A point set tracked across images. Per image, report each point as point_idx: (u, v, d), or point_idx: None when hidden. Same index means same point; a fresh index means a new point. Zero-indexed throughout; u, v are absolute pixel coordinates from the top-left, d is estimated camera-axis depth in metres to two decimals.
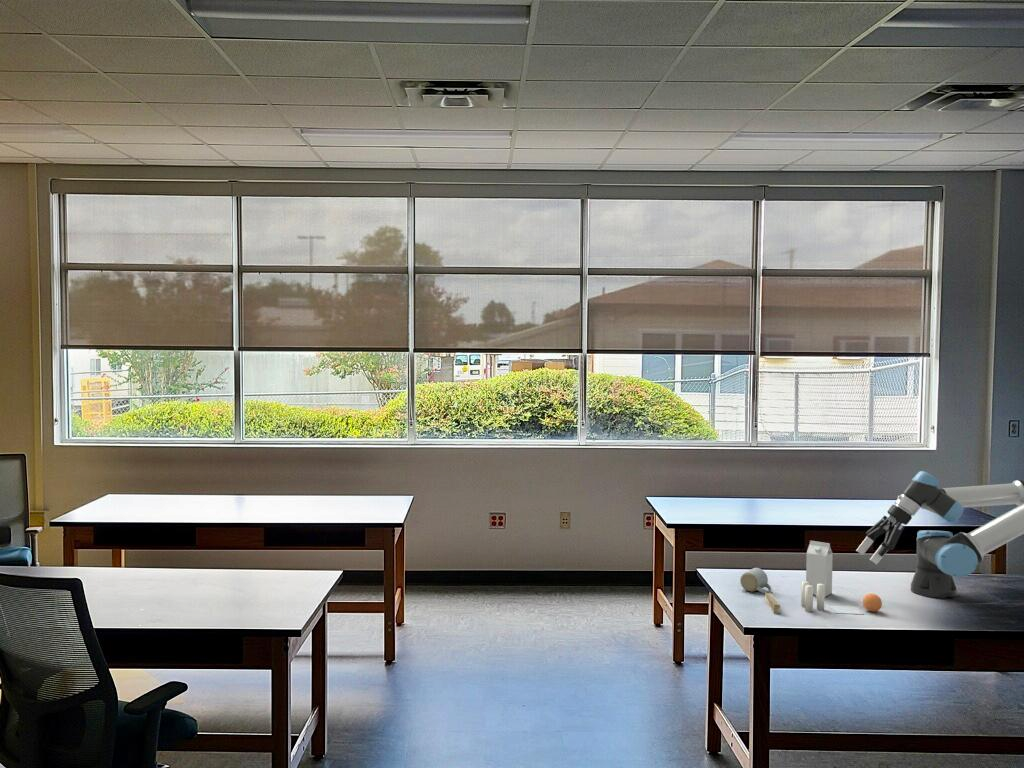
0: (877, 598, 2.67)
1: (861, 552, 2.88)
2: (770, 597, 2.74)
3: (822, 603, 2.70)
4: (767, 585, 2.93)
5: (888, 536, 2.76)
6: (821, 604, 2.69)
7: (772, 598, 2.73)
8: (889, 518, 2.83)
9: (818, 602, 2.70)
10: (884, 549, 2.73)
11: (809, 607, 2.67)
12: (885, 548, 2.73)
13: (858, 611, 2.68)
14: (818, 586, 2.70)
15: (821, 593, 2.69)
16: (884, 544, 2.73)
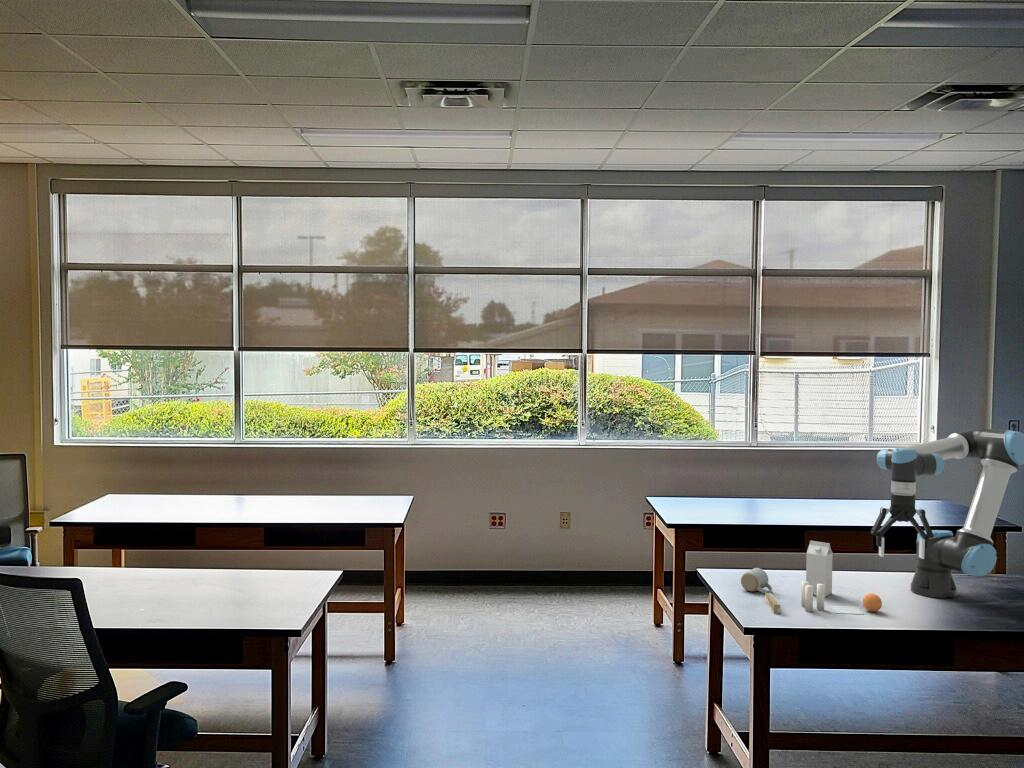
0: (877, 598, 2.67)
1: None
2: (770, 597, 2.74)
3: (822, 603, 2.70)
4: (768, 585, 2.93)
5: (920, 527, 2.66)
6: (821, 604, 2.69)
7: (772, 598, 2.73)
8: (897, 508, 2.67)
9: (818, 602, 2.70)
10: None
11: (809, 607, 2.67)
12: None
13: (858, 611, 2.68)
14: (818, 586, 2.70)
15: (821, 593, 2.69)
16: (928, 537, 2.66)
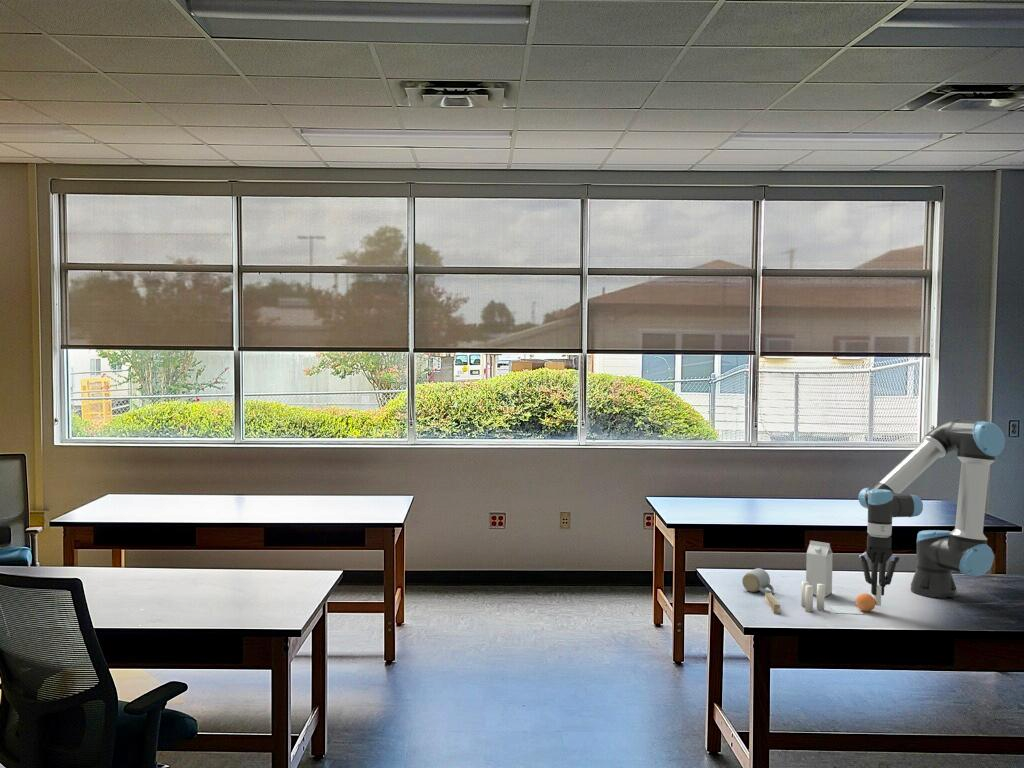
0: (867, 597, 2.67)
1: None
2: (770, 597, 2.74)
3: (822, 603, 2.70)
4: (769, 585, 2.92)
5: None
6: (821, 604, 2.69)
7: (772, 598, 2.73)
8: (871, 549, 2.67)
9: (818, 602, 2.70)
10: None
11: (809, 607, 2.67)
12: None
13: (858, 611, 2.68)
14: (818, 586, 2.70)
15: (821, 593, 2.69)
16: (884, 585, 2.67)
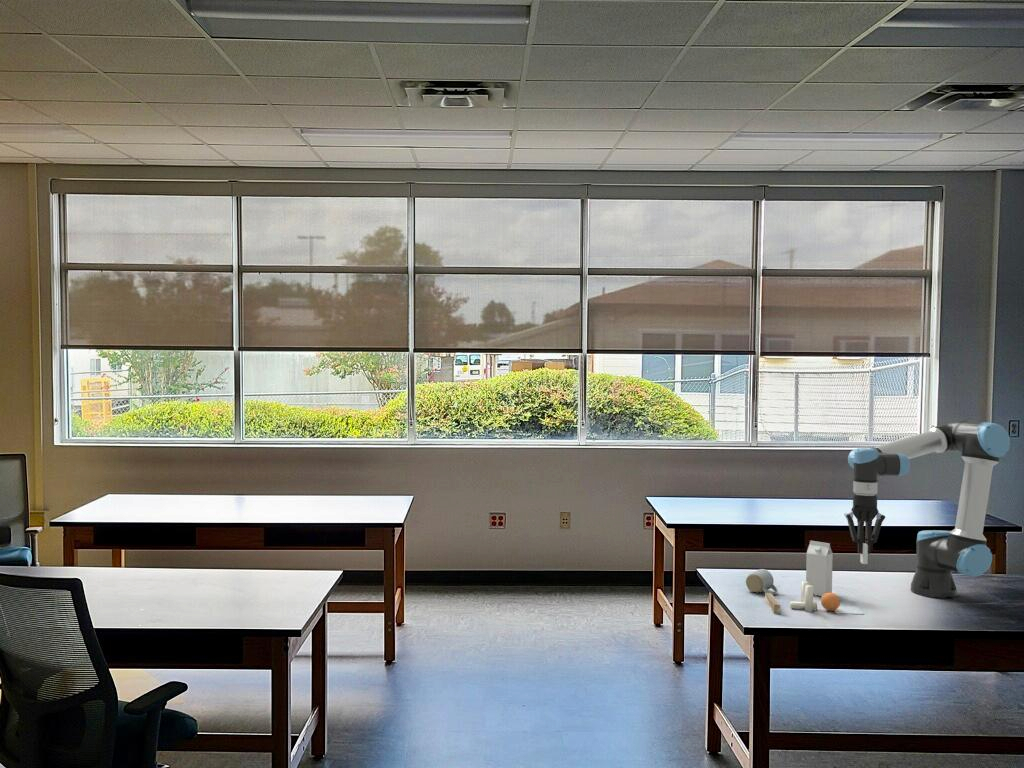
0: (836, 608, 2.68)
1: None
2: (770, 597, 2.74)
3: None
4: (773, 586, 2.91)
5: None
6: None
7: (772, 598, 2.73)
8: (857, 507, 2.68)
9: None
10: None
11: (809, 607, 2.67)
12: None
13: (858, 611, 2.68)
14: None
15: (799, 607, 2.70)
16: None
